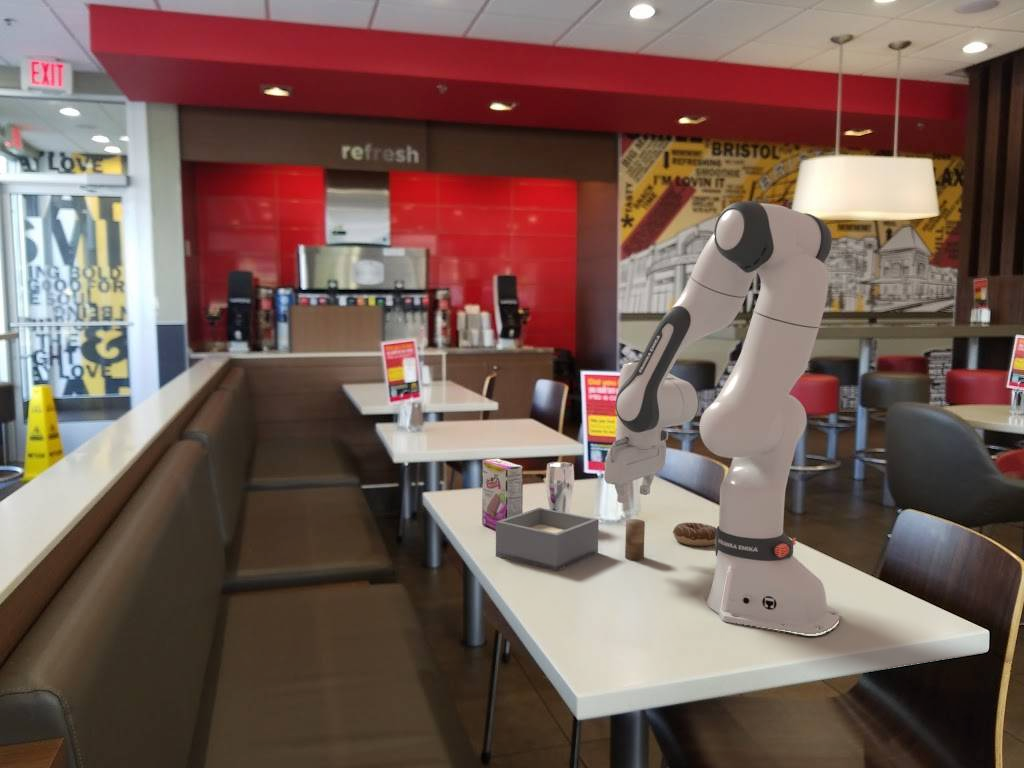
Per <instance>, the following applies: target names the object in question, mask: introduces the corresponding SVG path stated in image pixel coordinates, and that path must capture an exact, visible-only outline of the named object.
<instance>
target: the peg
mask: <svg viewBox="0 0 1024 768" xmlns="http://www.w3.org/2000/svg"><path fill="white" fill-rule="evenodd" d="M645 523H646V522H645V520H643V519H638V518H637V519H635V518H632V519H626V521H625V546H624V547H625V548H624V549H625V550H624V551H625V552H624V553H625V554H624V556H625V559H626V560H628V561H633V562H635V561H636V562H640V561H643V560H644V558H645V533H646V532H645V529H646V528H645V527H646V524H645Z"/></svg>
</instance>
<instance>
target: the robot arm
mask: <svg viewBox="0 0 1024 768" xmlns="http://www.w3.org/2000/svg"><path fill="white" fill-rule="evenodd" d="M832 242H833V241H832V232H831V229H830V228H829V226H828V225H827V224H826V223H825V221H823V220H822V219H820V218H819V217H817V216H815V215H813V214H810V213H807V212H805V213H804V212H801V211H798V210H795V209H791V208H788V207H786V206H783V205H779V204H774V203H762V202H761V203H760V202H758V201H754V200H743V201H737V202H734V203H730V204H728V205H727V206H726V207H725V208H724V209H723V210H722V211H721V213H720V214H719V215H718V218H717V219H716V223H715V225H714V232H713V234H711V236H710V238H709V239H708V241H707V242H706V244H705V245H704V247H703V249H702V251H701V253H700V254H699V256H698V258H697V261H696V262H695V264H694V267H693V269H692V272H691V274H690V277H689V278H688V281H687V284H685V287H684V289H683V290H682V292H681V293H680V296H679V297H678V299H677V300H676V302H675V303H674V304H673V305H672V307H671V308H670V309H669V310H668V311H667V312H666V313H665V314H664V315H663V317H662V318H661V320H660V322H659V324H658V325H657V326H656V329H655V331H654V332H653V334H652V336H651V338H650V340H649V341H648V344H647V346H646V347H645V349H644V352H642V355H641V357H640V358H639V359H636V360H630V361H628V362H627V361H626V362H625V363H624V364H623V365H622V368H621V370H620V373H619V381H618V388H617V389H618V391H617V395H616V399H615V413H616V414H617V417H616V427H615V428H616V429H615V430H616V431H615V432H616V434H615V440H614V441H613V443H612V445H611V446H610V447H609V448H608V450H607V452H606V453H607V454H606V457H605V466H604V474H603V475H604V476H603V478H604V479H603V480H604V481H605V483H606V484H608V485H613V486H614V489H615V491H616V494H617V500H616V501H617V502H618V503H619V504H625V503H628V501H629V493H627V489H626V488H627V487H628V483H630V482H633V481H637V480H639V479H641V478H642V482H641V485H640V486H639V494H640V495H644V496H647V495H649V494H650V493H651V485H652V483H653V480H654V476H655V475H654V474H656V473H659V472H662V471H663V469H664V467H665V465H666V455H667V454H666V453H667V443H666V441H667V440H668V438H669V431H668V430H667V429H665V428H671V427H675V426H682V425H685V424H688V423H690V422H692V421H693V420H694V419H695V418H696V416H697V414H698V411H699V406H700V399H699V393H698V392H697V390H696V388H695V386H694V385H693V384H692V383H691V382H689V381H688V380H685V379H681V378H679V377H678V376H675V375H673V374H671V370H672V368H673V366H674V365H675V363H676V361H677V359H678V357H679V356H680V354H682V352H683V351H684V350H685V349H686V348H687V347H689V346H690V345H692V344H693V343H694V342H697V341H698V340H700V339H702V338H704V337H707V336H709V335H712V334H715V333H718V332H719V331H722V330H724V329H726V328H727V327H729V326H730V324H731V323H732V322H733V321H734V320H735V318H736V317H737V315H738V314H739V312H740V311H741V309H742V307H743V304H744V302H745V300H746V297H747V295H748V293H749V289H750V287H751V285H752V283H753V280H754V278H755V276H756V275H757V274H758V277H759V279H760V290H759V293H758V297H757V299H756V303H755V306H754V309H753V313H752V317H751V319H750V323H749V326H748V329H747V333H746V336H745V339H744V342H743V345H742V349H741V352H740V354H739V356H738V359H737V360H736V362H735V365H734V367H733V368H732V371H731V372H730V373H729V376H728V377H727V379H726V381H725V382H724V385H723V386H722V388H721V391H720V392H719V393H718V395H717V396H716V398H715V399H714V401H713V402H711V404H710V405H709V406H708V407H706V409H704V412H703V413H702V414H701V417H700V419H699V428H698V429H699V435H700V439H701V440H702V441H701V442H702V443H703V444H704V446H705V447H706V449H708V450H709V451H710V452H711V453H713V454H714V455H716V456H718V457H721V458H727V459H732V460H731V463H730V467H729V469H728V472H727V473H726V476H725V477H724V478H723V480H722V482H721V484H720V487H719V489H720V491H719V515H718V516H719V518H718V519H719V520H718V526H716V528H717V530H716V539H715V544H714V547H715V556H716V562H715V569H714V575H713V579H712V585H711V588H710V591H709V594H708V597H707V599H706V604H707V605H708V607H709V609H712V611H714V612H716V613H717V614H718V615H719V617H720V619H721V620H722V621H724V622H727V623H733V624H736V623H737V625H742V624H744V625H743V626H747V625H750V626H749V627H752V626H756V627H755V628H758V626H759V627H765V628H771V629H778V630H785V631H791V632H797V633H804V634H816V633H821V632H824V631H827V630H828V629H830V628H832V627H833V626H834V625H835V624H836V623H837V622H838V620H839V618H840V613H839V611H838V610H837V608H836V607H832V606H829V605H827V596H826V590H825V586H824V584H823V582H822V581H821V579H820V578H819V577H818V576H816V574H814V573H813V572H812V571H810V569H809V568H807V567H806V566H805V565H804V564H803V563H802V562H801V561H799V559H797V558H796V557H795V556H794V546H795V545H796V544H797V543H796V540H797V537H794V538H792V539H791V538H790V537H789V536H788V535H787V534H786V533H785V532H784V520H785V519H784V516H785V499H786V490H787V489H786V488H787V484H788V479H789V475H790V471H791V468H792V464H793V460H794V457H795V452H796V449H797V446H798V442H799V440H800V438H801V436H802V435H803V433H804V432H805V429H806V426H807V423H808V421H807V420H808V419H807V413H806V412H807V411H806V409H805V407H804V406H803V404H802V403H801V401H800V400H799V399H797V398H796V397H795V396H794V395H791V394H790V392H791V391H792V389H793V387H794V386H795V384H796V383H797V382H798V380H799V379H801V377H802V376H803V374H804V373H805V372H806V370H807V368H808V364H809V361H810V357H811V355H812V352H813V349H814V346H815V342H816V339H817V336H818V334H819V333H818V332H819V328H820V326H821V323H822V319H823V315H824V311H825V307H826V302H827V298H828V297H827V296H828V291H829V289H828V288H829V279H830V277H829V276H830V275H829V273H830V272H829V270H828V267H827V266H826V265H825V261H826V260H827V258H828V257H829V254H830V253H831V249H832V245H833V243H832ZM817 628H818V629H817Z"/></svg>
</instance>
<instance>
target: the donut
mask: <svg viewBox="0 0 1024 768" xmlns="http://www.w3.org/2000/svg"><path fill="white" fill-rule="evenodd" d="M716 530H717V526H712V525H709V524H704V523H702V522H687V521H686V522H682V523H678V524H676V525H675V527H674V528H673V531H672V534H673V537H674V538H675V540H676V541H678V543H681V544H683V545H687V546H691V547H709V546H713V545H715V539H716Z"/></svg>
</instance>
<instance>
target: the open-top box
mask: <svg viewBox="0 0 1024 768" xmlns="http://www.w3.org/2000/svg"><path fill="white" fill-rule="evenodd" d="M599 522H600V519H598V518H594V517H590V516H589V517H588V516H584V515H583V516H582V515H579V514H573V513H570V514H569V513H564V512H559V511H554V510H549V508H543V507H537V508H534V509H531V510H528V511H525V512H522V513H521V514H518V515H515V516H512V517H509V518H506V519H503V520H500V521H497V522H496V530H495V557H500V558H503V559H507V558H508V560H512V561H515V562H519V563H523V562H524V564H527V565H530V564H531V565H532V566H534V565H536V566H535V567H538V566H539V568H542V567H543V568H542V569H546V568H547V569H546V570H550V569H551V571H555V572H557V570H558V571H560V570H562V569H565V568H566V567H569V566H572V565H573V564H576V563H578V562H580V561H583V560H585V559H587V558H589V557H591V556H593V555H596V554H598V553H599V527H600V526H599ZM564 567H565V568H564Z"/></svg>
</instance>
